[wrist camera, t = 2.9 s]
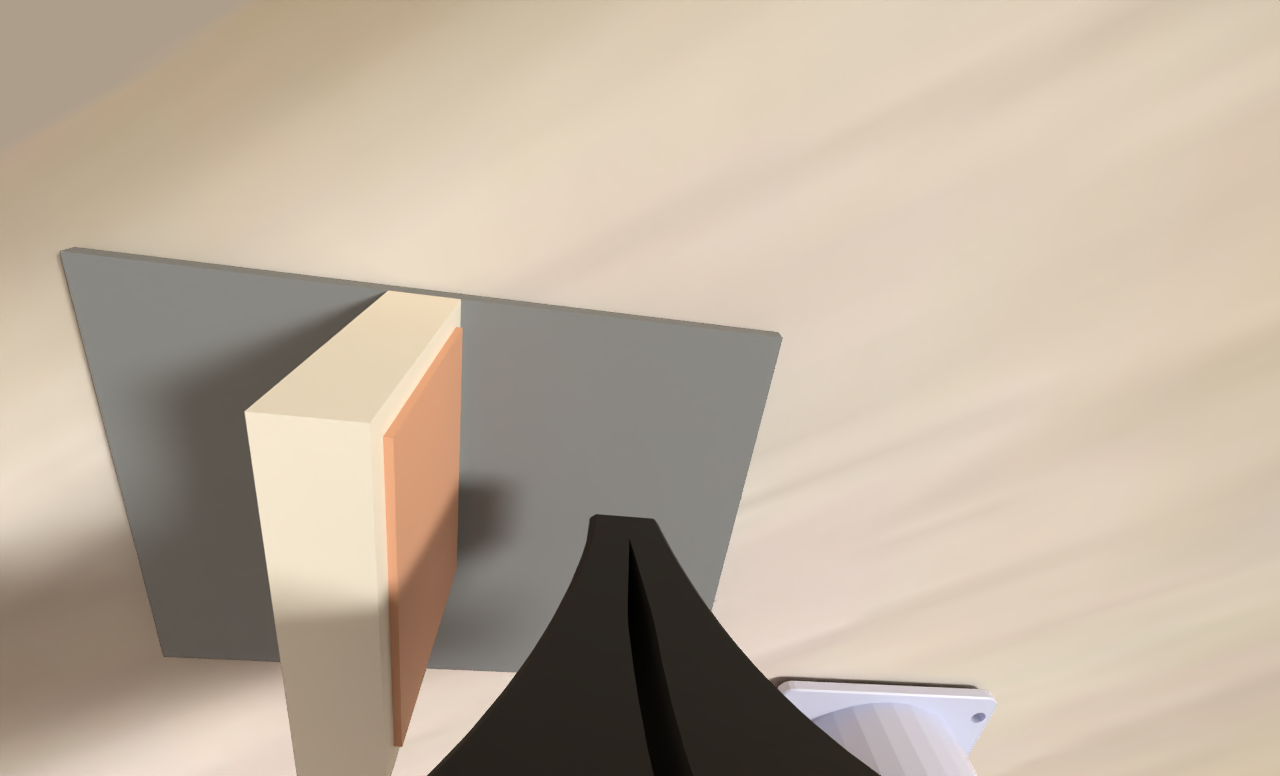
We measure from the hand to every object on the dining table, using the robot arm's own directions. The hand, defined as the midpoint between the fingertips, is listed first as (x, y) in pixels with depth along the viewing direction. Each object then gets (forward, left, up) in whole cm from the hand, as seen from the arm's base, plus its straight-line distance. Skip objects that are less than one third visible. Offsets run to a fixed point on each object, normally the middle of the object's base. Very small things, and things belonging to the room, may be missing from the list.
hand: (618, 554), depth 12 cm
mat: (-2, +4, -4) cm, 6 cm away
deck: (0, +5, -4) cm, 6 cm away
